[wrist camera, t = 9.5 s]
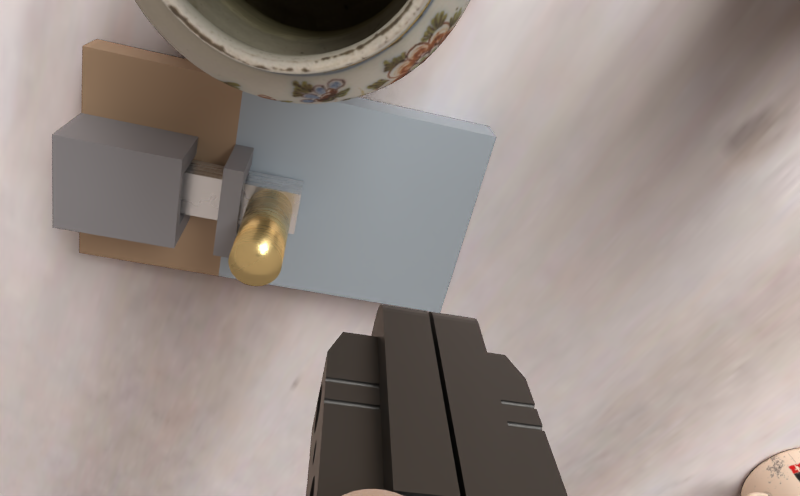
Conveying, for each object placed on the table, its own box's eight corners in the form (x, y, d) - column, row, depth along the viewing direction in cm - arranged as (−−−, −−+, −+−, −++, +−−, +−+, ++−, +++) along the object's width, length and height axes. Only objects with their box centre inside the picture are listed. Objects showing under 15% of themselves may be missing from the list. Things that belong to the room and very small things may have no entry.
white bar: (303, 181, 36) (292, 246, 29) (296, 218, 37) (283, 290, 30) (118, 144, 34) (57, 204, 27) (116, 185, 35) (57, 253, 28)
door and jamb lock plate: (489, 126, 37) (511, 159, 32) (436, 296, 43) (447, 347, 37) (96, 39, 34) (52, 60, 28) (91, 237, 39) (52, 285, 34)
